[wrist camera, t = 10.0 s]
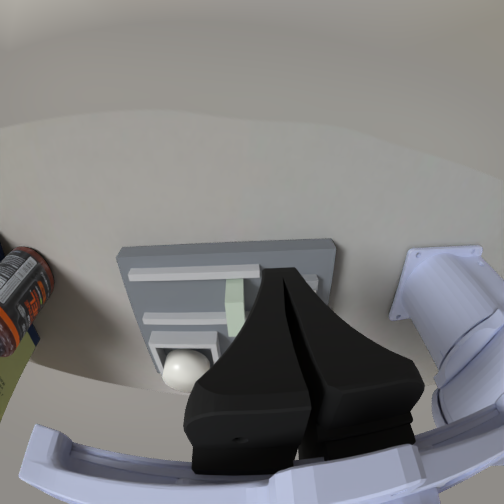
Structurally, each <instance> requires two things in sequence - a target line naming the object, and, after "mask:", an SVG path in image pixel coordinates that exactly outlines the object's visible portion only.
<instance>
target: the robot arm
mask: <svg viewBox="0 0 504 504" xmlns="http://www.w3.org/2000/svg"><path fill="white" fill-rule="evenodd" d="M482 251H483V248H482V247H481V246H480V245H471V246H449V247H427V248H412V249H410V250H409V251H408V253H407V256H406V260H405V263H404V267H403V271H402V274H401V278H400V281H399V285H398V288H397V291H396V294H395V298H394V301H393V304H392V307H391V310H390V313H389V319H390V320H391V321H395V320H402V319H408V318H411V320H412V322H413V324H414V325H415V327H416V329H417V331H418V332H419V334H420V336H421V338H422V340H423V342H424V343H425V345H426V347H427V349H428V351H429V353H430V355H431V357H432V358H433V360H434V362H435V364H436V366H437V368H438V370H439V372H438V373H437V374H436V375H435V376H434V380H435V382H436V385H437V387H438V388H437V389H436V390H435V391H434V393H433V395H432V414H433V419H434V422H435V424H436V426H437V428H435V429H433V430H430V431H427V432H424V433H421V434H418V435H415V436H414V433H413V431H412V428H411V425H410V423H412V421H413V418H412V415H411V412H410V411H411V410H412V408H413V407H414V406H415V404H416V403H417V401H418V400H419V399H420V397H421V395H422V393H423V391H424V387H425V385H424V382H423V380H422V378H421V375H420V373H419V371H418V369H417V368H416V366H415V364H414V362H413V361H412V360H410V359H408V358H405V357H403V356H401V355H399V354H396V353H394V352H392V351H390V350H388V349H386V348H384V347H382V346H380V345H379V344H377V343H375V342H373V341H372V340H370V339H368V338H367V337H365V336H364V335H362V334H361V333H359V332H358V331H356V330H355V329H354V328H352V327H351V326H350V325H348V324H347V323H346V322H345V321H343V320H342V319H341V318H340V317H339V316H338V315H337V314H335V313H334V312H333V311H332V310H331V309H330V308H329V307H328V306H327V305H326V304H325V303H324V302H323V301H322V300H321V298H320V297H319V296H318V295H317V294H316V293H315V292H314V290H313V289H312V288H311V287H310V286H309V284H308V283H307V282H306V281H305V279H304V278H303V277H302V275H301V274H300V273H299V271H298V270H297V269H296V268H295V267H286V268H265V269H263V270H262V279H261V284H260V288H259V291H258V294H257V297H256V300H255V302H254V304H253V307H252V309H251V311H250V313H249V315H248V317H247V319H246V321H245V323H244V325H243V326H242V328H241V330H240V331H239V333H238V334H237V336H236V337H235V339H234V340H233V342H232V343H231V345H230V346H229V347H228V349H227V350H226V351H225V352H224V353H223V354H222V356H221V357H220V358H219V359H218V360H217V361H216V363H215V364H214V365H213V366H212V367H211V368H210V369H209V370H208V371H207V372H206V373H205V374H203V375H202V376H201V377H200V378H199V379H198V380H197V381H196V382H195V384H194V386H193V389H192V391H191V394H190V396H189V399H188V402H187V406H186V409H185V417H184V425H183V427H184V432H185V433H186V435H187V437H188V439H189V441H190V442H191V444H192V446H193V454H192V455H193V456H192V462H182V461H171V460H161V459H154V458H146V457H140V456H133V455H128V454H122V453H117V452H111V451H107V450H102V449H98V448H94V447H90V446H86V445H82V444H78V443H74V442H72V440H71V439H70V438H69V437H68V436H66V435H65V434H64V433H61V432H60V431H57V430H55V429H52V428H48V427H45V426H42V425H39V424H35V426H34V429H33V432H32V434H31V437H30V440H29V443H28V446H27V449H26V453H25V456H24V459H23V463H22V466H21V469H20V473H19V477H20V479H22V480H23V481H25V482H27V483H28V484H30V485H32V486H34V487H35V488H37V489H39V490H41V491H43V492H45V493H47V494H49V495H51V496H53V497H54V498H57V499H59V500H62V501H64V502H67V503H69V504H441V502H440V499H439V495H438V493H440V492H443V491H444V490H447V489H449V488H451V487H453V486H455V485H457V484H459V483H461V482H463V481H464V480H466V479H468V478H470V477H472V476H474V475H475V474H477V473H479V472H480V471H482V470H484V469H486V468H487V467H489V466H494V465H495V466H498V465H502V466H504V280H503V279H502V278H501V277H500V276H499V275H498V274H497V273H496V271H495V270H494V269H493V268H492V267H491V266H490V265H489V264H488V263H487V262H486V261H485V260H484V259H483V258H482V257H481V254H482ZM417 253H418V254H417ZM416 254H417V255H416ZM297 450H298V453H299V460H295V456H296V453H297Z"/></svg>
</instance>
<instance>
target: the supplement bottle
mask: <svg viewBox="0 0 504 504" xmlns="http://www.w3.org/2000/svg"><path fill="white" fill-rule="evenodd" d="M53 288H54V279H53V275H52V272H51V270H50V268H49V266H48V264H47V263H46V261H45V260H44V259H43V258H42V257H41V256H40V255H39V254H38V253H37V252H35V251H34V250H33V249H31V248H27V247H17V248H15V249H13V250H12V251H11V252H10V253H9V254H8V255H7V256H6V257H5V258H4V259H3V260H2V261H1V262H0V357H8V356H10V355H12V354H13V353H14V351H15V350H16V348H17V347H18V345H19V343H20V342H21V340H22V338H23V337H24V335H25V333H26V332H27V330H28V329H29V327H30V325H31V324H32V322H33V321H34V319H35V317H36V316H37V315H38V313H39V311H40V310H41V309H42V307H43V305H44V304H45V303H46V301H47V300H48V298H49V297H50V295H51V293H52V291H53Z"/></svg>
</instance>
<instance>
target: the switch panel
mask: <svg viewBox="0 0 504 504" xmlns="http://www.w3.org/2000/svg"><path fill="white" fill-rule="evenodd" d="M335 255H336V247H335V245H334V243H333V241H332V239H302V240H275V241H249V242H225V243H201V244H179V245H158V246H138V247H122V249H121V250H120V252H119V253H118V255H117V257H116V259H117V263H118V266H119V269H120V273H121V276H122V279H123V282H124V285H125V288H126V291H127V294H128V297H129V300H130V303H131V306H132V309H133V312H134V315H135V317H136V320H137V323H138V326H139V328H140V331H141V333H142V336H143V339H144V341H145V344H146V346H147V349H148V351H149V354H150V356H151V358H152V361H153V363H154V365H155V368H156V370H157V372H158V373H161V376H162V375H163V370H164V365H165V361H166V356H167V355H168V353H170V352H171V351H173V350H176V349H191V350H195V351H197V352H200V353H202V354H203V355H205V356H206V357H207V358H208V360H209V362H210V368H211V367H212V366H213V365H214V364H215V363H216V361H217V360H218V359H219V358H220V357H221V356H222V354H223V353H224V352H225V351H226V350H227V349H228V347H229V346H230V345H231V343H232V342H233V340H234V339H235V337H229V336H228V327H227V319H226V310H225V290H226V279H237V278H243V283H244V300H245V321H246V319H247V317H248V315H249V313H250V311H251V309H252V307H253V304H254V302H255V300H256V297H257V294H258V291H259V288H260V284H261V279H262V270H263V269H265V268H286V267H295V268H296V269H297V270H298V271H299V273H300V274H301V275H302V277H303V278H304V279H305V281H306V282H307V283H308V284H309V286H310V287H311V288H312V289H313V290H316V294H317V295H318V296H319V297H320V298H321V300H322V301H323V302H324V303H325V304H326V305H327V306H328V302H329V296H330V289H331V283H332V276H333V270H334V262H335Z"/></svg>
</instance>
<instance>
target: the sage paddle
mask: <svg viewBox="0 0 504 504" xmlns="http://www.w3.org/2000/svg"><path fill="white" fill-rule="evenodd" d="M225 310H226V319H227V327H228V336H229V337H236V336H237V334H238V333H239V331H240V330H241V328H242V326H243V325H244V323H245V300H244V283H243V278H237V279H226V290H225Z"/></svg>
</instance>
